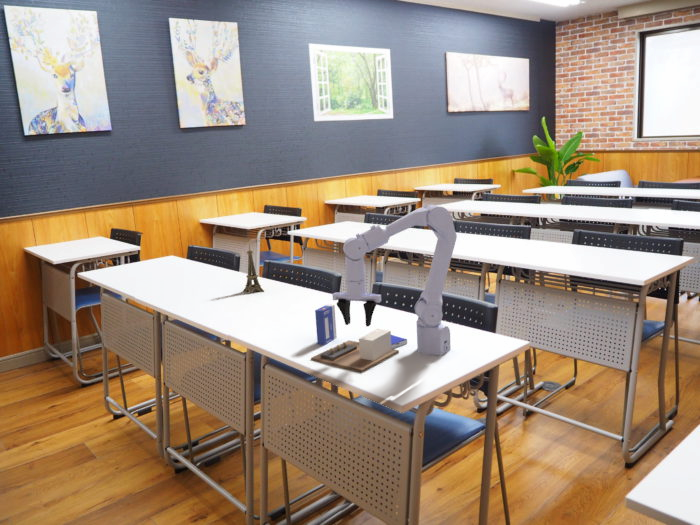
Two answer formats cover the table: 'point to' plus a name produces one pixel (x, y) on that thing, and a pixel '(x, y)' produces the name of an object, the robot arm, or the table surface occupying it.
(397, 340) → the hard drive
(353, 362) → the board
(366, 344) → the block
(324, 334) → the walkman
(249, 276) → the eiffel tower
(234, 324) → the table surface
